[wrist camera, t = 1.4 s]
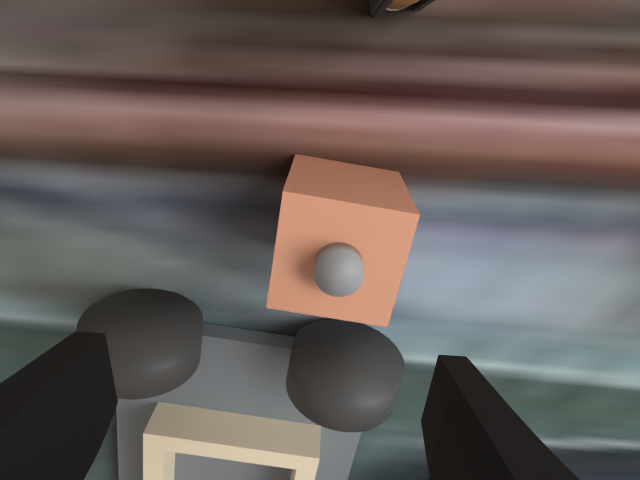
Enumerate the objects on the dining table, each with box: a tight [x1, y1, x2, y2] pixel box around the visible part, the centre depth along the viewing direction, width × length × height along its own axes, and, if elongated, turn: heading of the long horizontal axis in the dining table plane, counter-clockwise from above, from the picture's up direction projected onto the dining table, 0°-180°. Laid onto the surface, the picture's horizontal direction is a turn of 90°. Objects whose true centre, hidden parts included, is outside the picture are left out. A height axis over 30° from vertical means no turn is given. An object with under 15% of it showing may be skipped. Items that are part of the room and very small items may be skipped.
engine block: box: [266, 154, 420, 327], centre depth 17 cm, size 4×4×6 cm
